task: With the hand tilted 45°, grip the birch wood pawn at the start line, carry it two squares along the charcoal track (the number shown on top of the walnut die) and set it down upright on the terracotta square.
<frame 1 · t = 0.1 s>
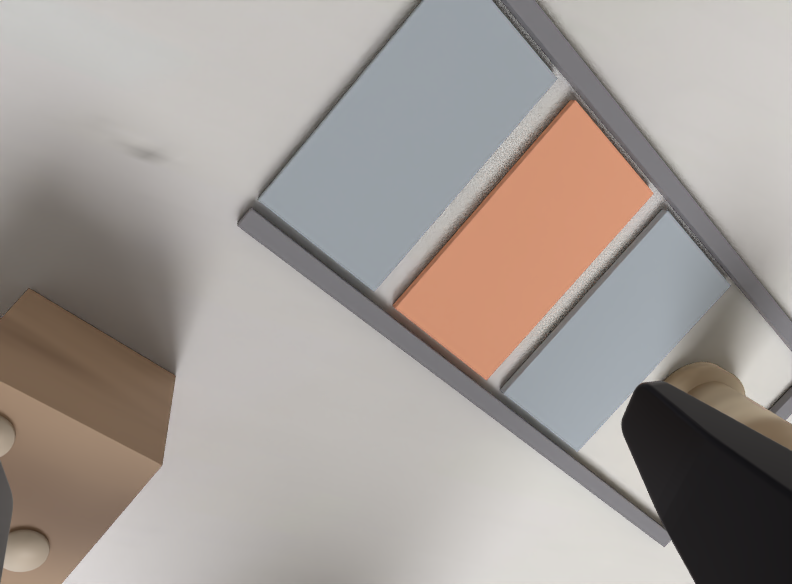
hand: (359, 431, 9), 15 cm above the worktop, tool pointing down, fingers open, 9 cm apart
game track: (590, 311, 28), on the worktop
walnut die: (57, 394, 23), on the worktop
birch pawn: (689, 406, 32), resting in game track
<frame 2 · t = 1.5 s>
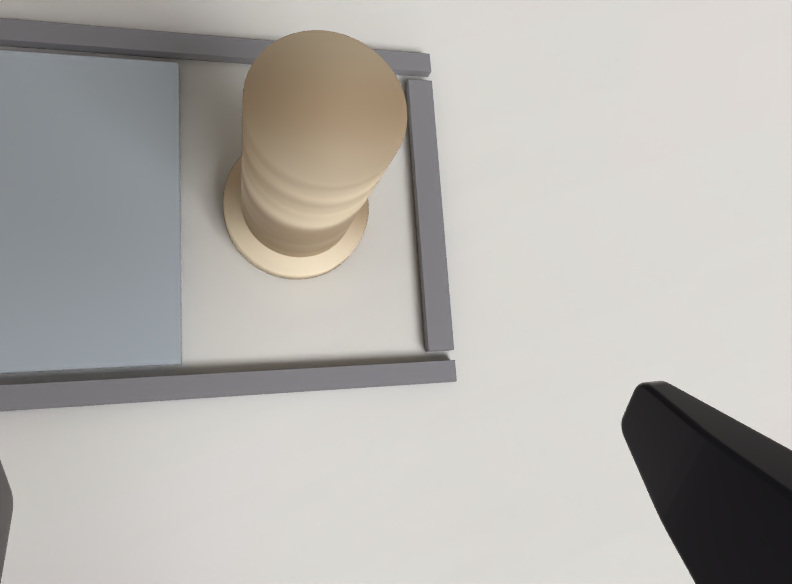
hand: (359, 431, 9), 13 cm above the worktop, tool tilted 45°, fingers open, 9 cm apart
game track: (26, 208, 20), on the worktop
birch pawn: (295, 211, 23), resting in game track
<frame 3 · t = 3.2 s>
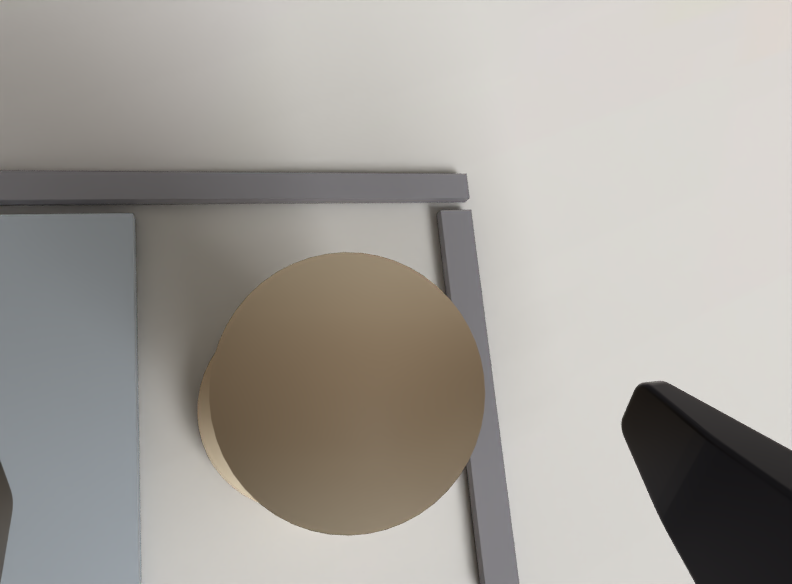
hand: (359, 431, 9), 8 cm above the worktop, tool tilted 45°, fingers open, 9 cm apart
birch pawn: (298, 405, 17), resting in game track
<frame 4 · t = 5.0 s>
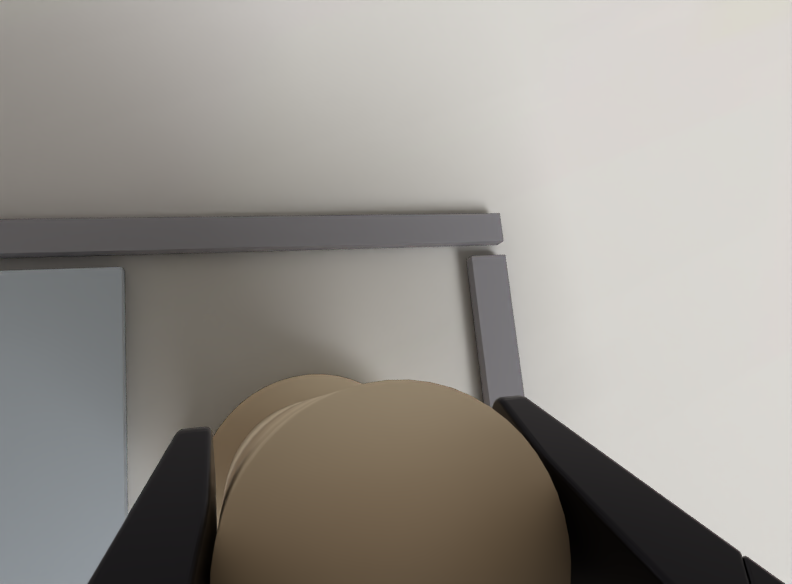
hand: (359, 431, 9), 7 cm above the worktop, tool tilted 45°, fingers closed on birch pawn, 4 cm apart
birch pawn: (311, 485, 15), resting in game track, touching gripper
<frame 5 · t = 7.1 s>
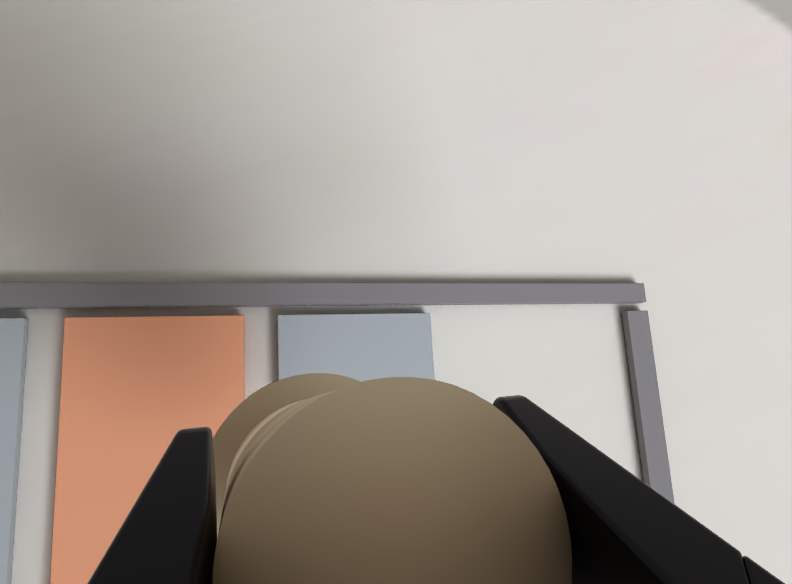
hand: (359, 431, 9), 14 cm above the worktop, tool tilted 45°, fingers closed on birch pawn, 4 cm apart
game track: (305, 469, 21), on the worktop
birch pawn: (312, 484, 15), point 7 cm above the worktop, touching gripper
when the fingers open (8 cm above the worktop, at t = 9.5 s): birch pawn drops 1 cm, resting on game track.
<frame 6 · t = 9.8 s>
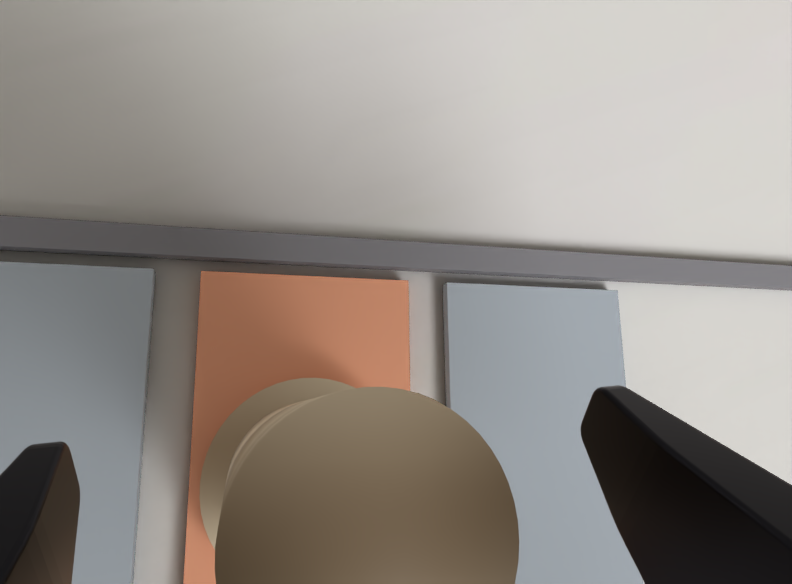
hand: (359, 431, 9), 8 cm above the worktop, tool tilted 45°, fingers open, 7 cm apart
game track: (477, 472, 17), on the worktop
birch pawn: (305, 479, 16), resting on game track
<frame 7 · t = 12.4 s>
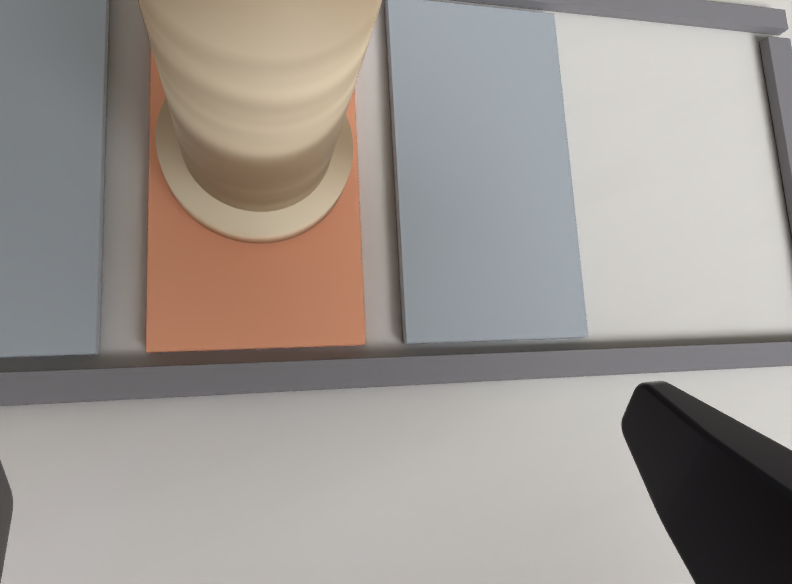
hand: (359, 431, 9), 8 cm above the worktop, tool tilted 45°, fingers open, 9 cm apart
game track: (421, 166, 19), on the worktop
birch pawn: (257, 155, 17), resting on game track
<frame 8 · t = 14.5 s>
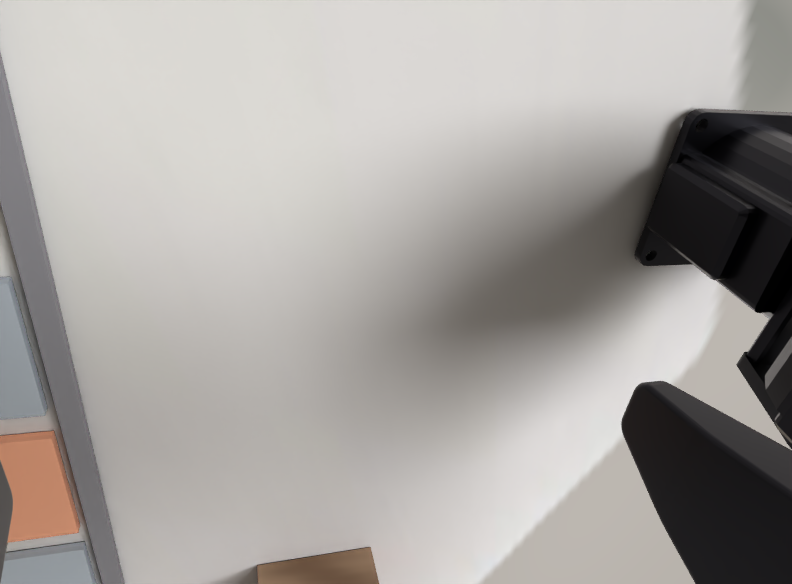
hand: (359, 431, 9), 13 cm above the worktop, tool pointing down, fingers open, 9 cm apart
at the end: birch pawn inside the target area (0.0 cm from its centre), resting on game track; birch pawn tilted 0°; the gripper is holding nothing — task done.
